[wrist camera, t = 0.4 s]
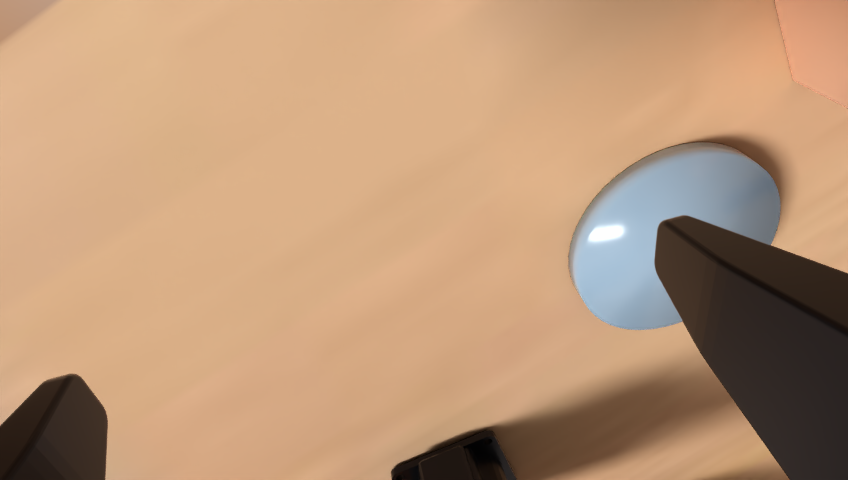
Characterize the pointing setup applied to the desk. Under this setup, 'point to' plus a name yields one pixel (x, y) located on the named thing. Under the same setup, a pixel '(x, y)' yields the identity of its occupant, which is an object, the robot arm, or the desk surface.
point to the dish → (642, 213)
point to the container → (817, 44)
